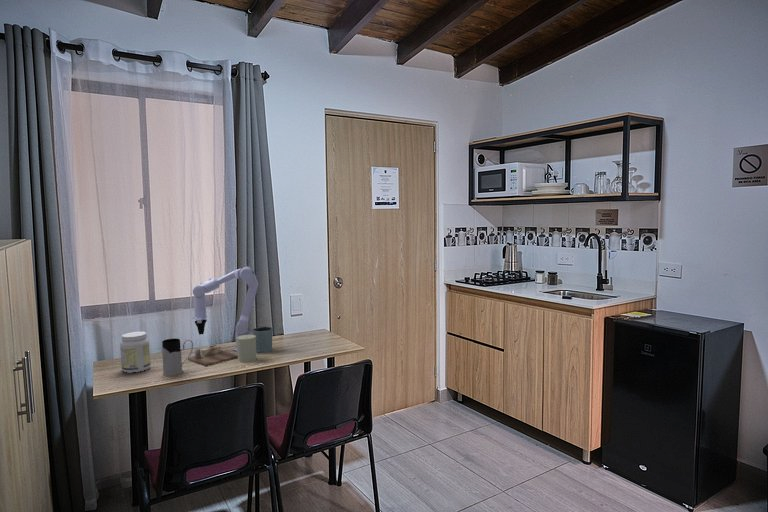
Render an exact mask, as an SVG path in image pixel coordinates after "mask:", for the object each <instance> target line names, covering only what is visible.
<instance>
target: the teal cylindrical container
mask: <svg viewBox="0 0 768 512" xmlns="http://www.w3.org/2000/svg"><path fill="white" fill-rule="evenodd" d="M252 332H253V335H255V336H256V354H269V353H271V352H273V332H274V329H273V327H271V326H260V327H255V328H253V329H252ZM268 352H269V353H268Z"/></svg>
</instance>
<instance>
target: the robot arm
mask: <svg viewBox="0 0 768 512" xmlns="http://www.w3.org/2000/svg"><path fill="white" fill-rule="evenodd" d="M234 279H235V280H239V279H241V280H242V281H244V282H245V283H246V285H247V287H248V289H247V292H246V295H245V299H244V303H243V307H242V310H241V314H240V317H239V320H238V321H237V323H236V326H235V328H234V329H235V348H233V349H232V351H234V350H235V352H238V349H237V337H238V336H241V335H253V331H250V330H249V326H250V322H249V320H250V316H251V313H252V309H253V305H254V301H255V298H256V294H257V291H258V288H259V282H258V279H257V276H256V273H255V271H254V269H252V267H250V266H244V267H242V268H238V269H234V270H233V271H231V272H229V273H227V274H224V275H223V276H221V277H218V278H214V277H213V278H212V277H211V278H208V280H207V281H204V282H200V284H198V285H196V286H195V287H193V289H192V294H193V307H194V308H193V310H194V316H192V317H191V319H192V320H195V321H194V324H195V326H196V328H197V332H198V335H204V333H205V326H206V323H207V321H208V320H207V318H208V316H207V305H206V304H207V303H206V294H208V293H211V292H213V291H215V290H217V289H219V288H220V286H221V285H222V284H224V283H226V282H229V281H231V280H234Z"/></svg>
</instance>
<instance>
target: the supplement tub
mask: <svg viewBox="0 0 768 512" xmlns="http://www.w3.org/2000/svg"><path fill="white" fill-rule="evenodd" d="M147 337H148V335H147V332H146V331H133V332H127V333H124V334H122V335H121V342H120V343H119V349H120V350H119V351H120V360H121V371H122V372H123V371H124V373H126V372H127V374H133V373H132V372H136V373H140V371H141V372H144V370H145V371H147V370H148V369H150V368H151V365H152V364H151V351H150V340H149V338H147Z"/></svg>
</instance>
